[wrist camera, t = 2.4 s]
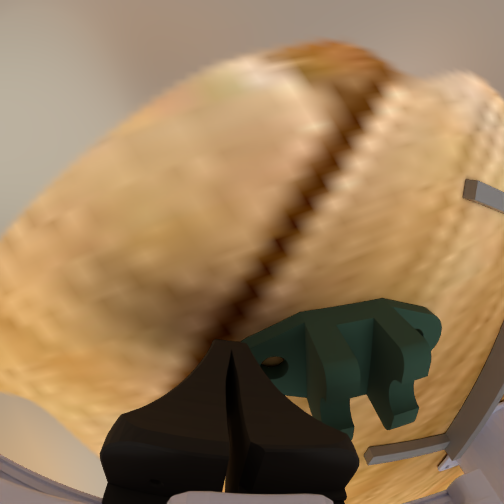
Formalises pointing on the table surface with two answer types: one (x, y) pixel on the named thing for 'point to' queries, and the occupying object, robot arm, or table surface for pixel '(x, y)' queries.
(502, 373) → the u-shaped gray bracket
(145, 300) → the table surface
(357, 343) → the mount
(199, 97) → the table surface
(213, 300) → the table surface
